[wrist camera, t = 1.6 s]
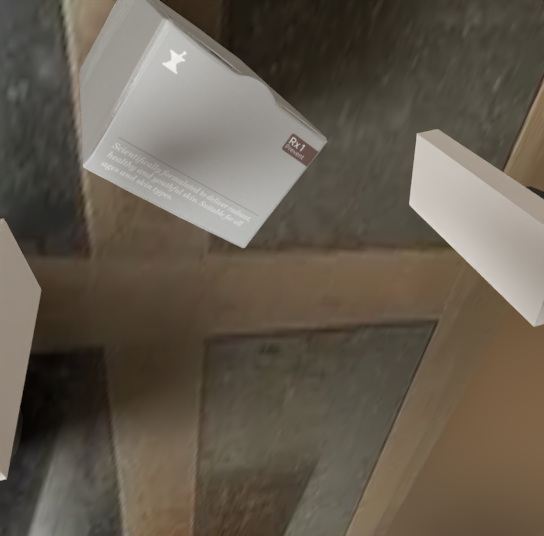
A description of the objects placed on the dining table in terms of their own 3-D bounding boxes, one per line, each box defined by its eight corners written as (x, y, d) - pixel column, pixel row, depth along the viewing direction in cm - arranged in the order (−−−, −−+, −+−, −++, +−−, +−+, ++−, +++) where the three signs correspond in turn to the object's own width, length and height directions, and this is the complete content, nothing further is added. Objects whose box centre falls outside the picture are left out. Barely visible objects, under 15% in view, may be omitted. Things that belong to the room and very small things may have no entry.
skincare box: (78, 69, 29) (56, 179, 17) (136, -38, 27) (159, 2, 15) (191, 140, 34) (237, 266, 22) (249, 55, 32) (337, 143, 19)
